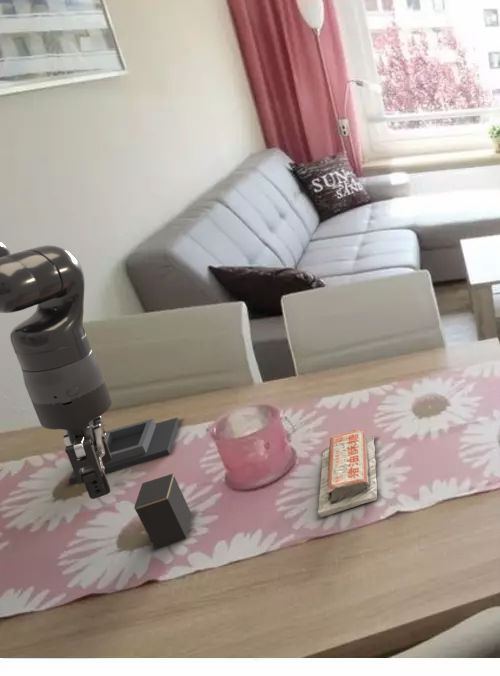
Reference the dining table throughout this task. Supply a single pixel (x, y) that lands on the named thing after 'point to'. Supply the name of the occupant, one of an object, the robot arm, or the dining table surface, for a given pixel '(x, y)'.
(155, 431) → the base pad
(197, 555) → the dining table surface
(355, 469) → the packaged product
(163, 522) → the black box
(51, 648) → the dining table surface
